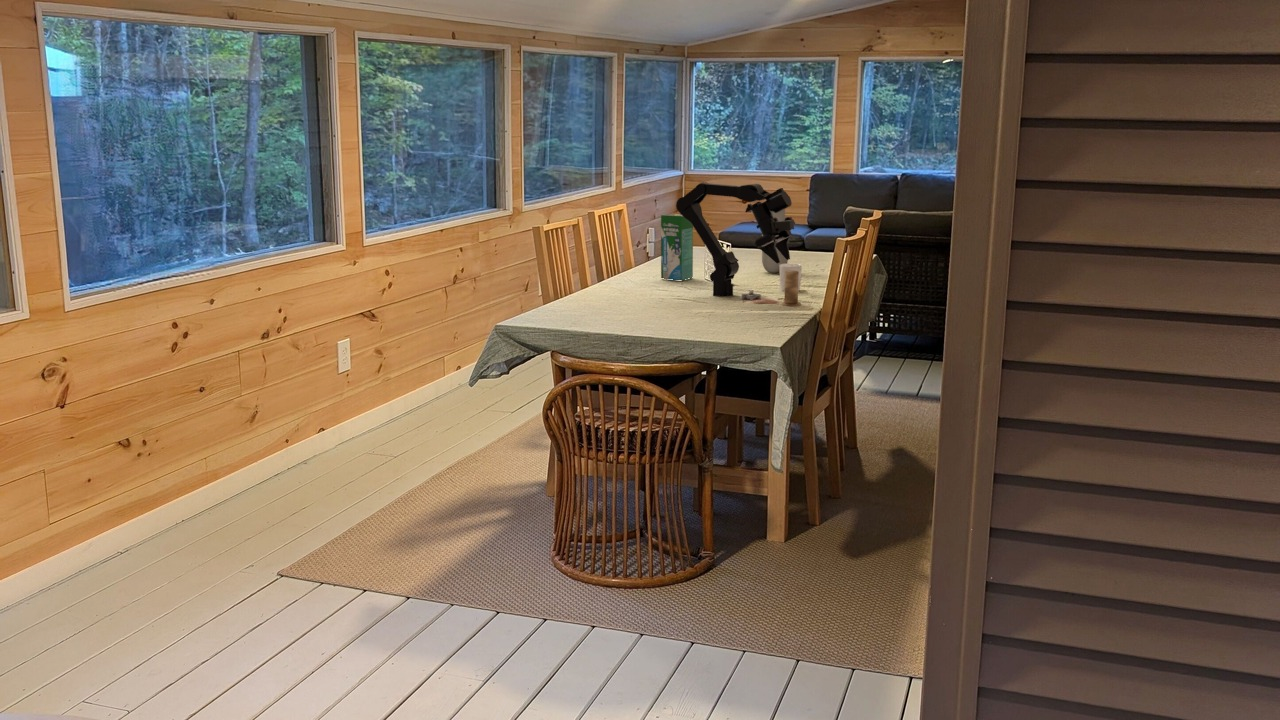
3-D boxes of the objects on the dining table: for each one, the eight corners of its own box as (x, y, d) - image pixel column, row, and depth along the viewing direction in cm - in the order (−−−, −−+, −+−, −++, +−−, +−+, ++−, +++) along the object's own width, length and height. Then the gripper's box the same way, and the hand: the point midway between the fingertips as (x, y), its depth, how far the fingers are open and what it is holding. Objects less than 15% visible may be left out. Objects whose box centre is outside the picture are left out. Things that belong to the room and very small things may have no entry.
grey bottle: (769, 270, 456) (770, 200, 450) (791, 272, 450) (793, 201, 444) (757, 273, 448) (758, 202, 442) (779, 275, 442) (781, 203, 436)
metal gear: (741, 300, 381) (741, 291, 380) (741, 297, 387) (741, 288, 387) (761, 300, 380) (761, 292, 379) (760, 297, 387) (760, 288, 386)
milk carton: (692, 278, 436) (693, 213, 431) (681, 281, 429) (681, 215, 423) (672, 276, 441) (672, 212, 435) (660, 279, 434) (660, 214, 428)
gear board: (742, 306, 375) (742, 303, 375) (742, 299, 389) (742, 296, 388) (778, 307, 374) (778, 303, 374) (777, 299, 388) (777, 296, 387)
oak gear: (781, 309, 370) (782, 272, 368) (780, 305, 377) (781, 270, 374) (801, 309, 370) (802, 273, 367) (800, 305, 376) (801, 270, 373)
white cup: (800, 294, 398) (801, 266, 395) (777, 294, 399) (778, 266, 397) (801, 291, 405) (802, 263, 403) (779, 290, 407) (780, 263, 405)
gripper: (774, 211, 367) (793, 255, 367) (795, 206, 383) (813, 248, 383) (746, 225, 373) (765, 268, 372) (767, 220, 389) (786, 261, 388)
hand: (783, 261), depth 379 cm, fingers open, 9 cm apart
